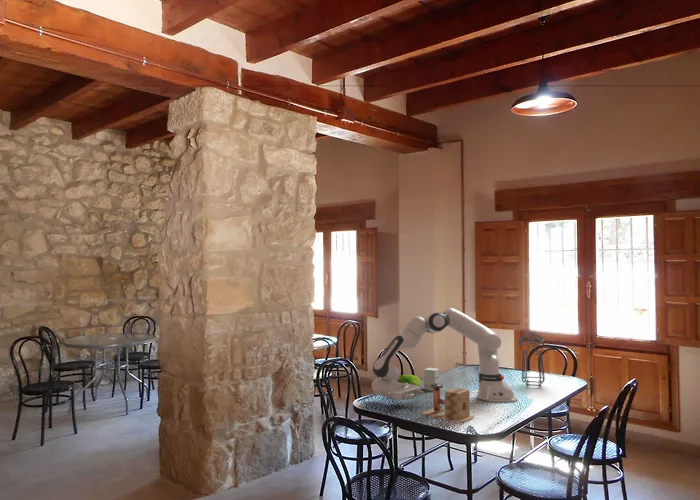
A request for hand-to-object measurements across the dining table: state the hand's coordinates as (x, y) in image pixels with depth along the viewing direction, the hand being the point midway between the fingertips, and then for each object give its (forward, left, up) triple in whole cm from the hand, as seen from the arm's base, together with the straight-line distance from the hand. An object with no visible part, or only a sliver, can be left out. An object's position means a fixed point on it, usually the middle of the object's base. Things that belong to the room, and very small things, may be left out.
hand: (417, 394), depth 270 cm
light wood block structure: (-16, +9, -8) cm, 20 cm away
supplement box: (-5, -48, -8) cm, 49 cm away
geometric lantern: (-67, -68, -8) cm, 96 cm away
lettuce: (+7, -34, -8) cm, 36 cm away
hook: (-16, +9, -6) cm, 19 cm away
